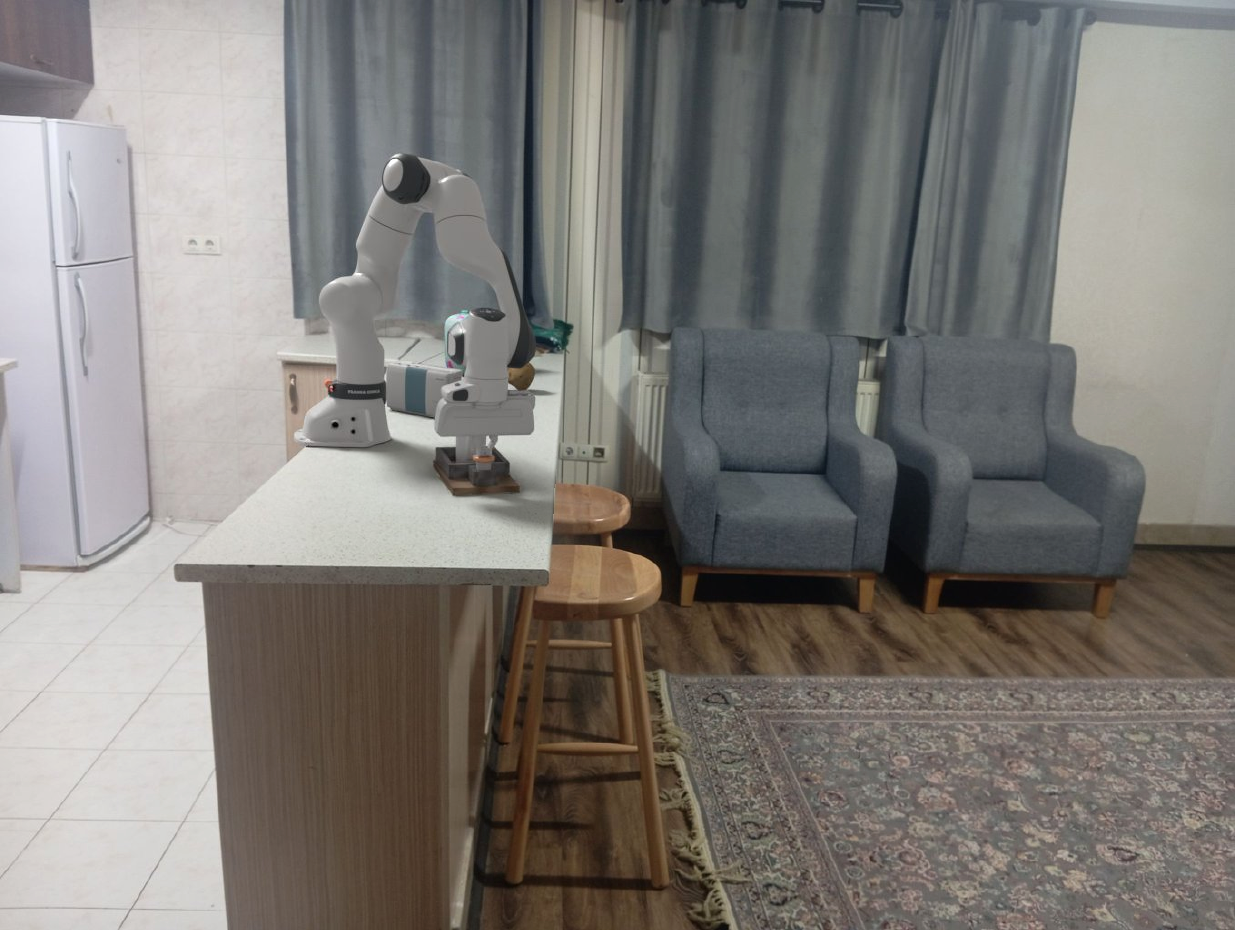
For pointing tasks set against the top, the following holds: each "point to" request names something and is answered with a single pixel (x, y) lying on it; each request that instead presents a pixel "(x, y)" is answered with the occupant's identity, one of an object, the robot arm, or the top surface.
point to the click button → (483, 462)
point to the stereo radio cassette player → (417, 385)
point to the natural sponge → (521, 377)
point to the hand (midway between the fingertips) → (484, 456)
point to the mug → (467, 448)
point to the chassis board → (474, 474)
